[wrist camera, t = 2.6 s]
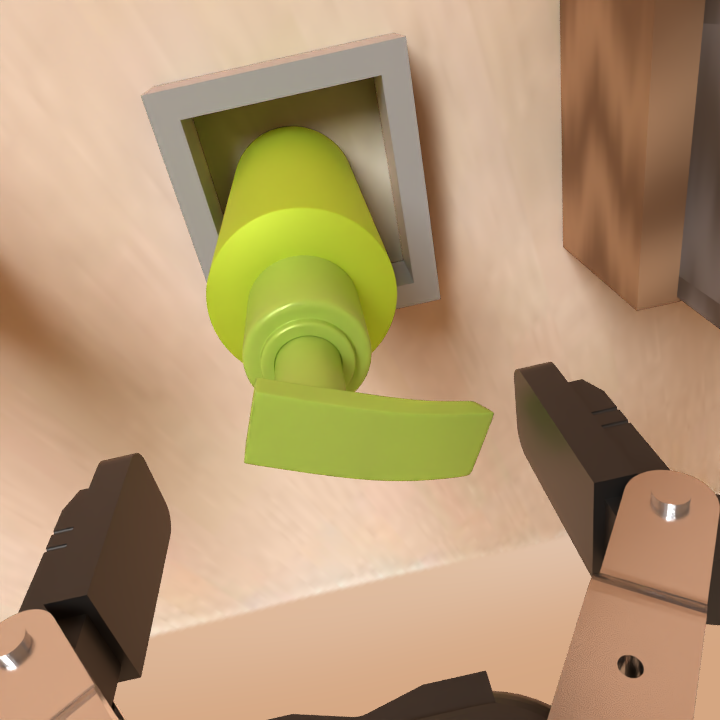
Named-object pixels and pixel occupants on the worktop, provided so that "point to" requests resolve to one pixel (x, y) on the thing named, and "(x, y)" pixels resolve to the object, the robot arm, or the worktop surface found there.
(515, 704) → the robot arm
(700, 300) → the raised socket
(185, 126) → the low socket
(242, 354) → the soap dispenser
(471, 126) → the worktop surface
